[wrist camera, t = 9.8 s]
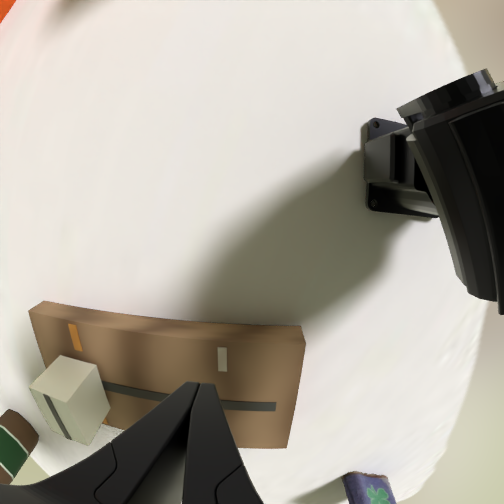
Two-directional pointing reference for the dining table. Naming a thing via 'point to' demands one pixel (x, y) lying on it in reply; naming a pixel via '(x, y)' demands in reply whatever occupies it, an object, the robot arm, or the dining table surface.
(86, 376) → the fader knob
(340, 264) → the dining table surface
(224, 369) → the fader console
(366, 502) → the flask
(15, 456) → the beer bottle
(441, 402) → the dining table surface
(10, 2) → the flowerpot
